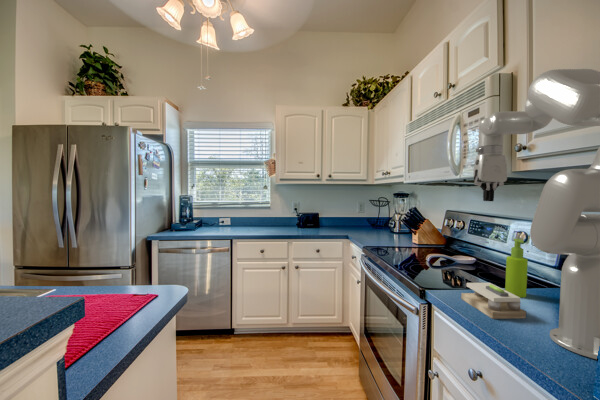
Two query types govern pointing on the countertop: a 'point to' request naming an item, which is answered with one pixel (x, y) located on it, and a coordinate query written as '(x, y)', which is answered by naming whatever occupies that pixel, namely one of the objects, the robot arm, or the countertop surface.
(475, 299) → the level base
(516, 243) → the soap dispenser
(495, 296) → the white rectangular slab
